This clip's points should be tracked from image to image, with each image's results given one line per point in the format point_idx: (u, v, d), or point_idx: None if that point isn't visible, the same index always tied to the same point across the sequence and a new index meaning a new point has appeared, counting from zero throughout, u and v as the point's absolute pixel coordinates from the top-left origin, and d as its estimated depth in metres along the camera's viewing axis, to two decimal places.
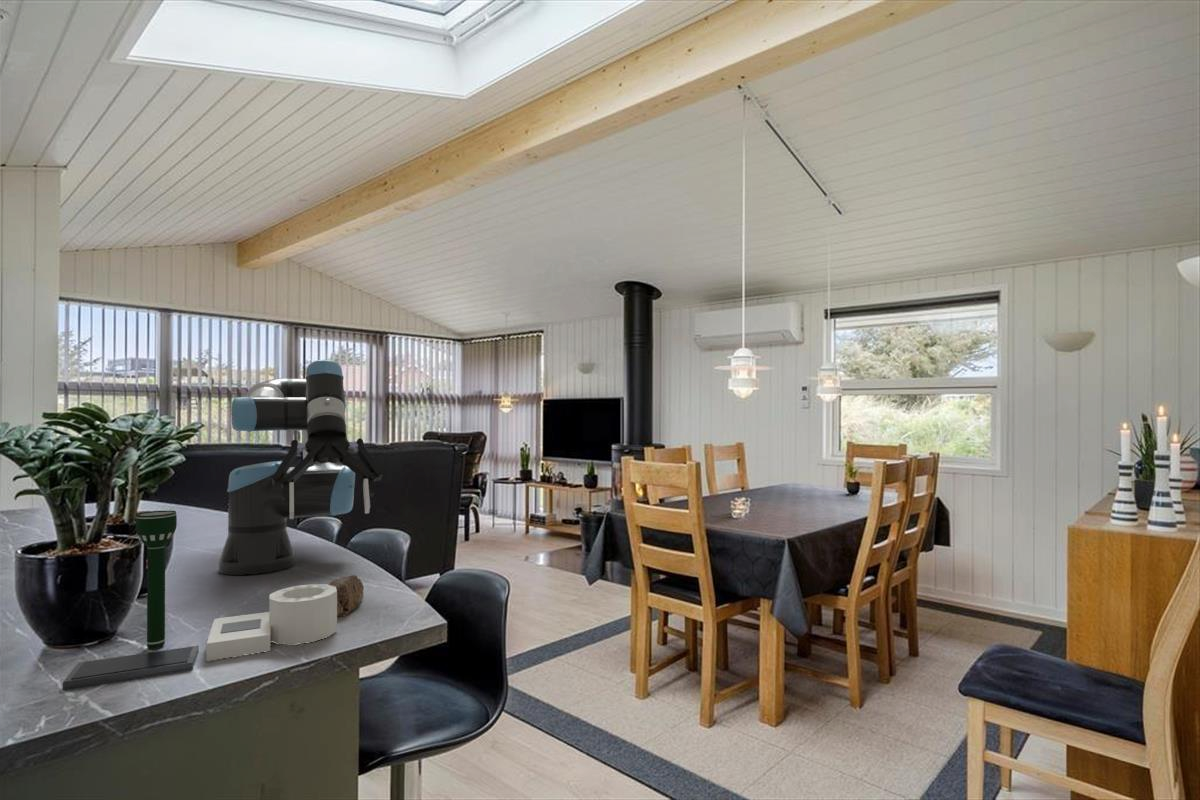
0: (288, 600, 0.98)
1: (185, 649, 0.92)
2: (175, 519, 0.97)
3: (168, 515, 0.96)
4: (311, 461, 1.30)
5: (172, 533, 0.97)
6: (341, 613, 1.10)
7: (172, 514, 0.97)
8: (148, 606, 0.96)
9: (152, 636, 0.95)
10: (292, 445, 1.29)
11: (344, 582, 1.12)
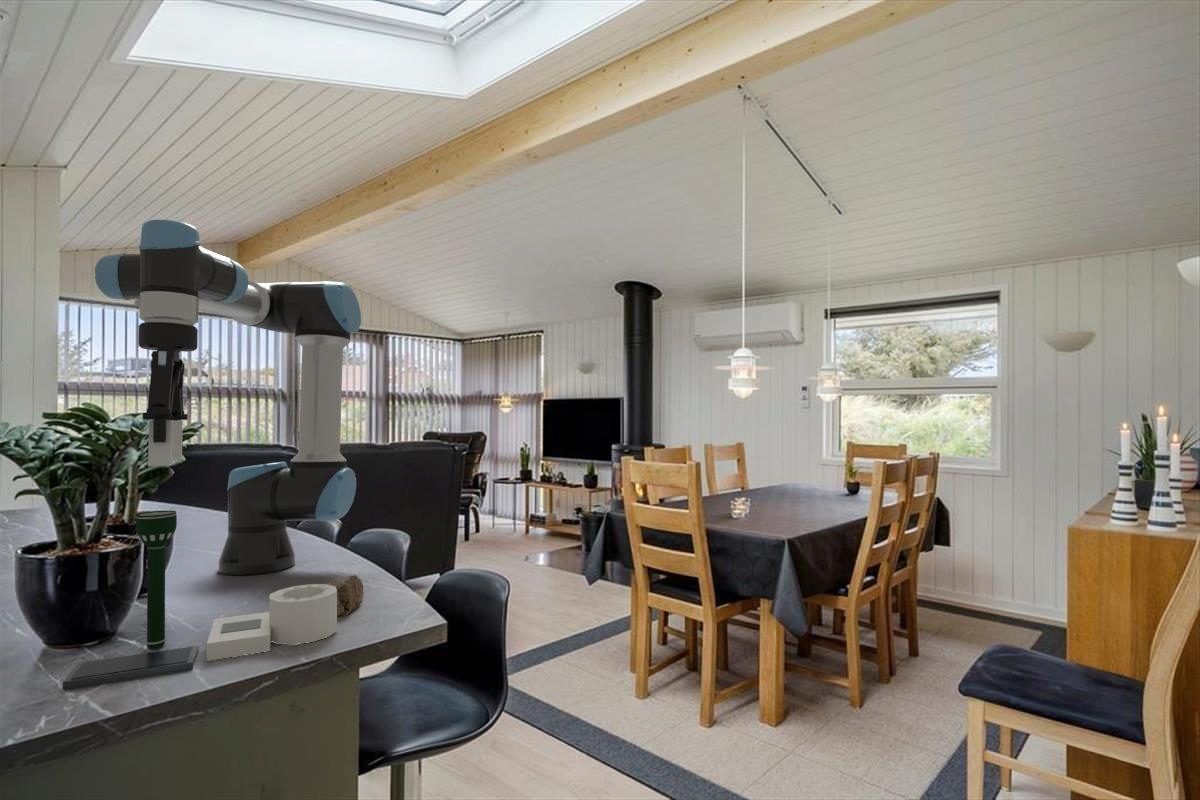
0: (288, 600, 0.98)
1: (185, 649, 0.92)
2: (175, 519, 0.97)
3: (168, 515, 0.96)
4: None
5: (172, 533, 0.97)
6: (342, 613, 1.10)
7: (172, 514, 0.97)
8: (148, 606, 0.96)
9: (152, 636, 0.95)
10: None
11: (345, 582, 1.12)
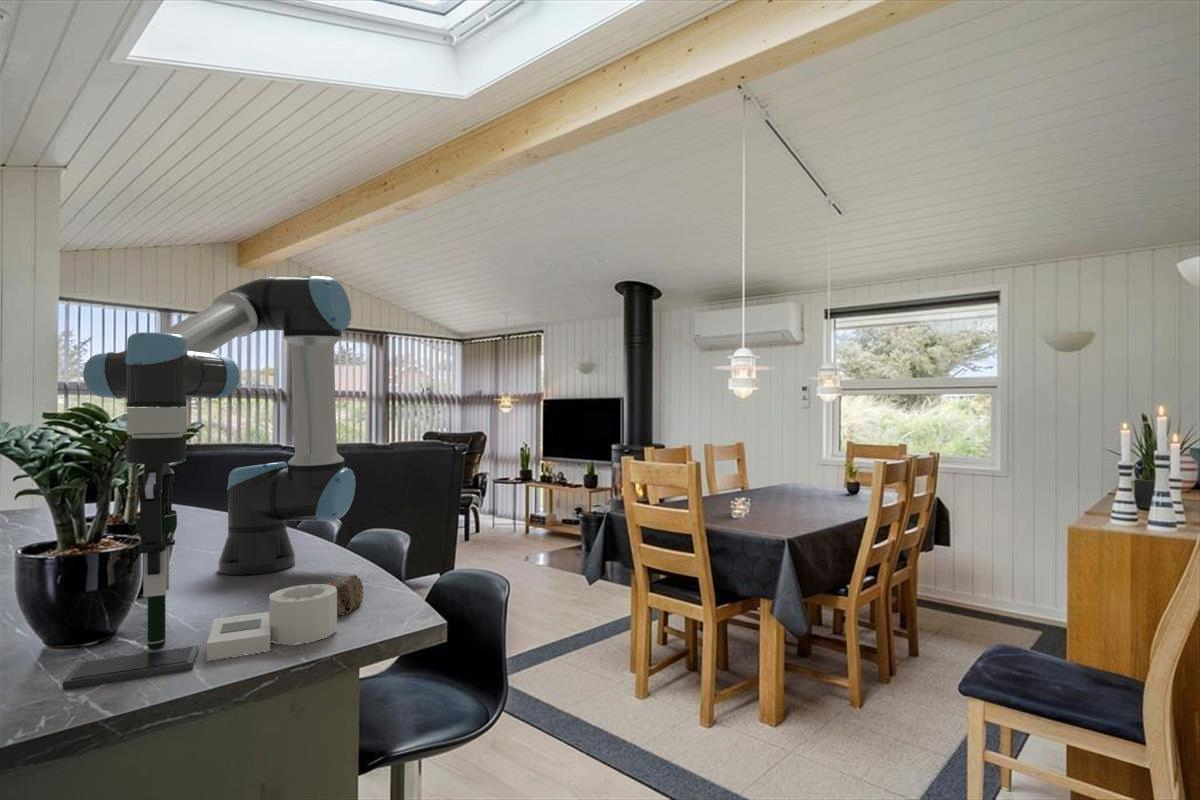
0: (288, 600, 0.98)
1: (185, 649, 0.92)
2: (175, 519, 0.97)
3: (168, 515, 0.96)
4: None
5: (172, 533, 0.97)
6: (343, 612, 1.11)
7: (172, 514, 0.97)
8: (148, 605, 0.96)
9: (153, 636, 0.95)
10: None
11: (345, 581, 1.12)
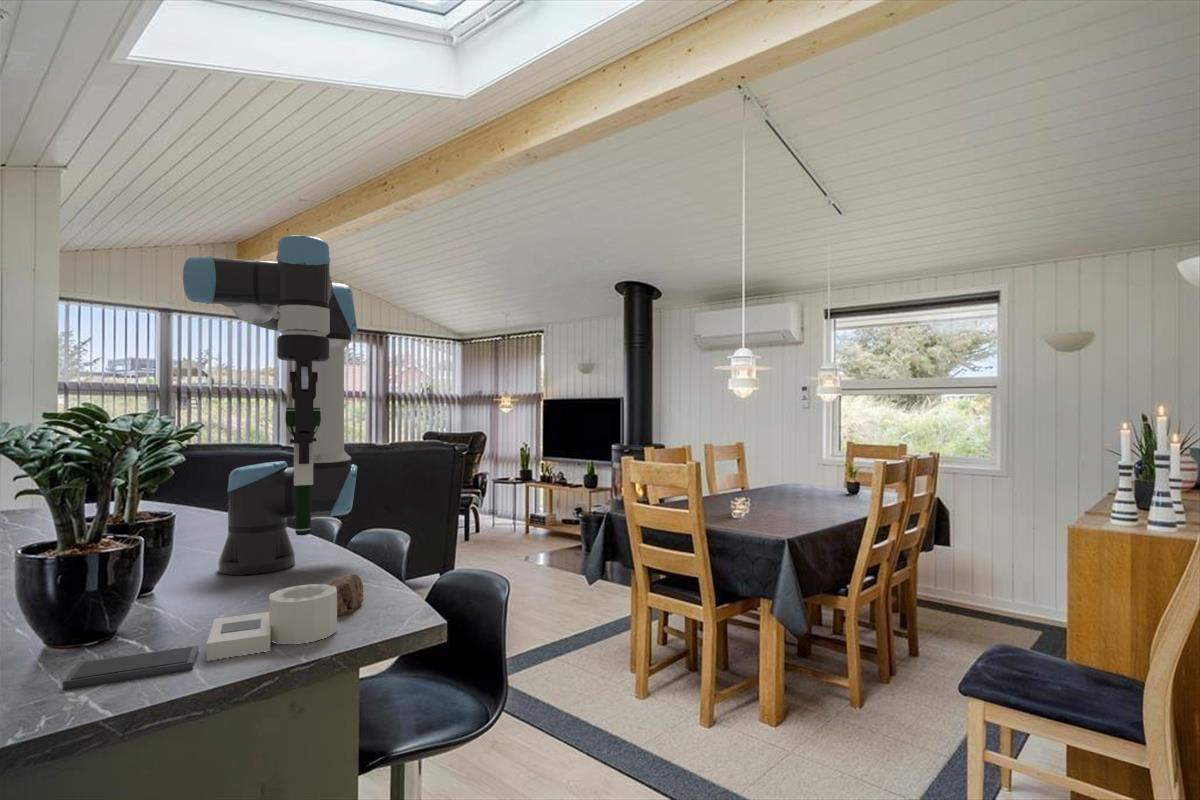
0: (288, 600, 0.98)
1: (185, 649, 0.92)
2: (320, 414, 1.03)
3: (315, 409, 1.01)
4: None
5: (318, 427, 1.02)
6: (345, 611, 1.11)
7: (318, 409, 1.02)
8: (297, 495, 1.01)
9: (301, 523, 1.01)
10: None
11: (347, 581, 1.12)
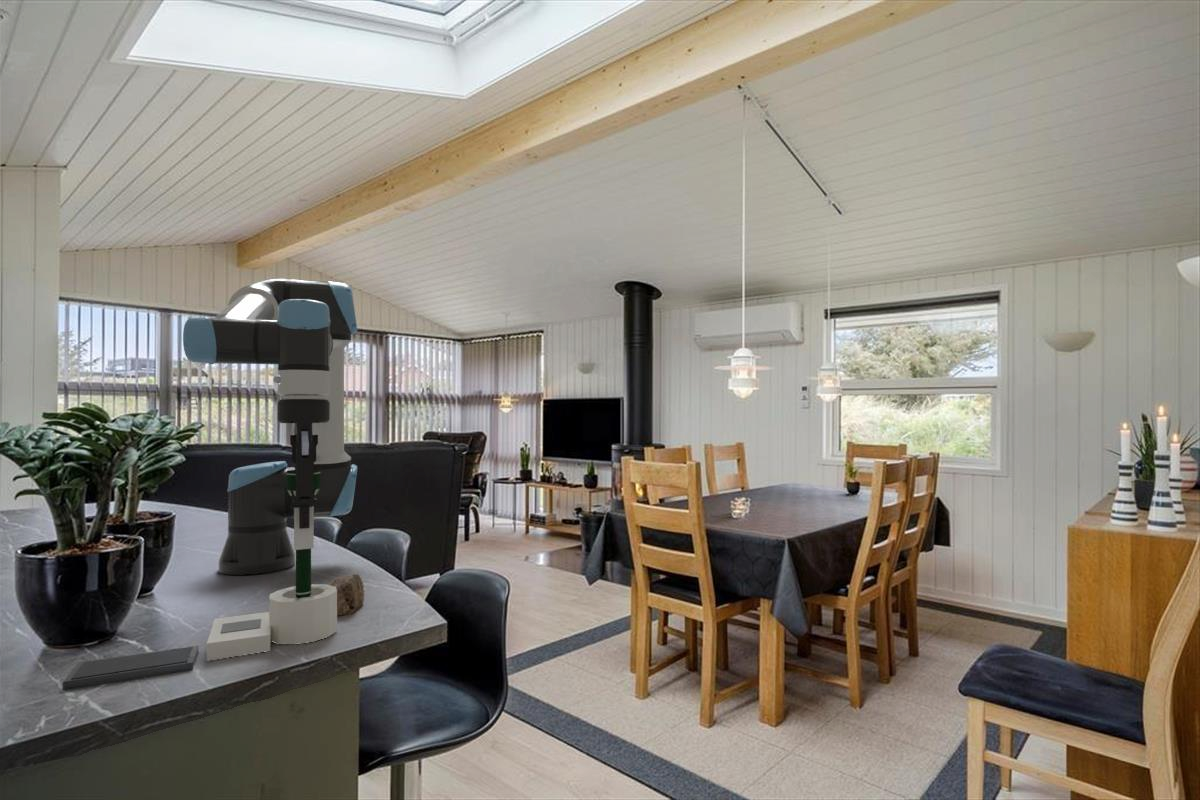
0: (288, 600, 0.98)
1: (185, 649, 0.92)
2: (320, 477, 1.03)
3: (316, 472, 1.01)
4: None
5: (318, 490, 1.02)
6: (347, 611, 1.11)
7: (318, 471, 1.02)
8: (297, 558, 1.01)
9: (301, 587, 1.01)
10: None
11: (349, 580, 1.13)
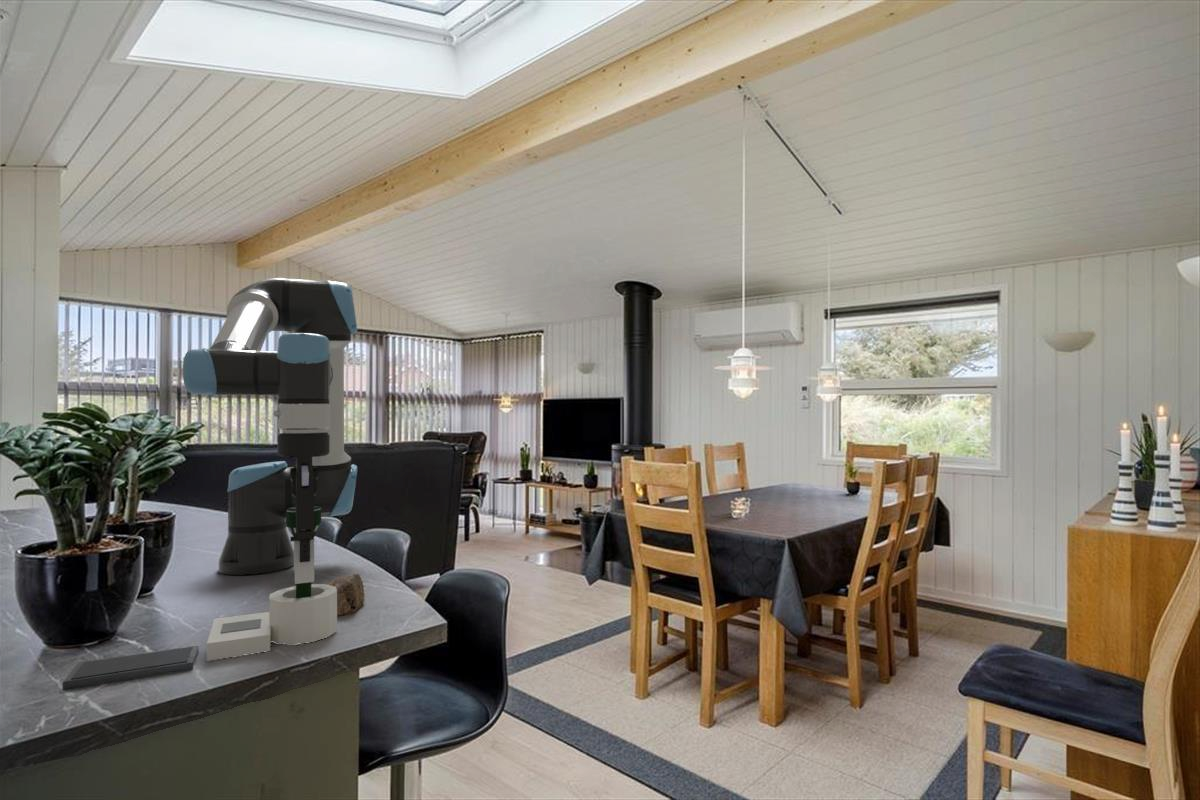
0: (288, 600, 0.98)
1: (185, 649, 0.92)
2: (320, 513, 1.03)
3: (316, 509, 1.01)
4: None
5: (318, 526, 1.02)
6: (349, 611, 1.11)
7: (319, 508, 1.02)
8: (297, 595, 1.01)
9: None
10: None
11: (351, 580, 1.13)
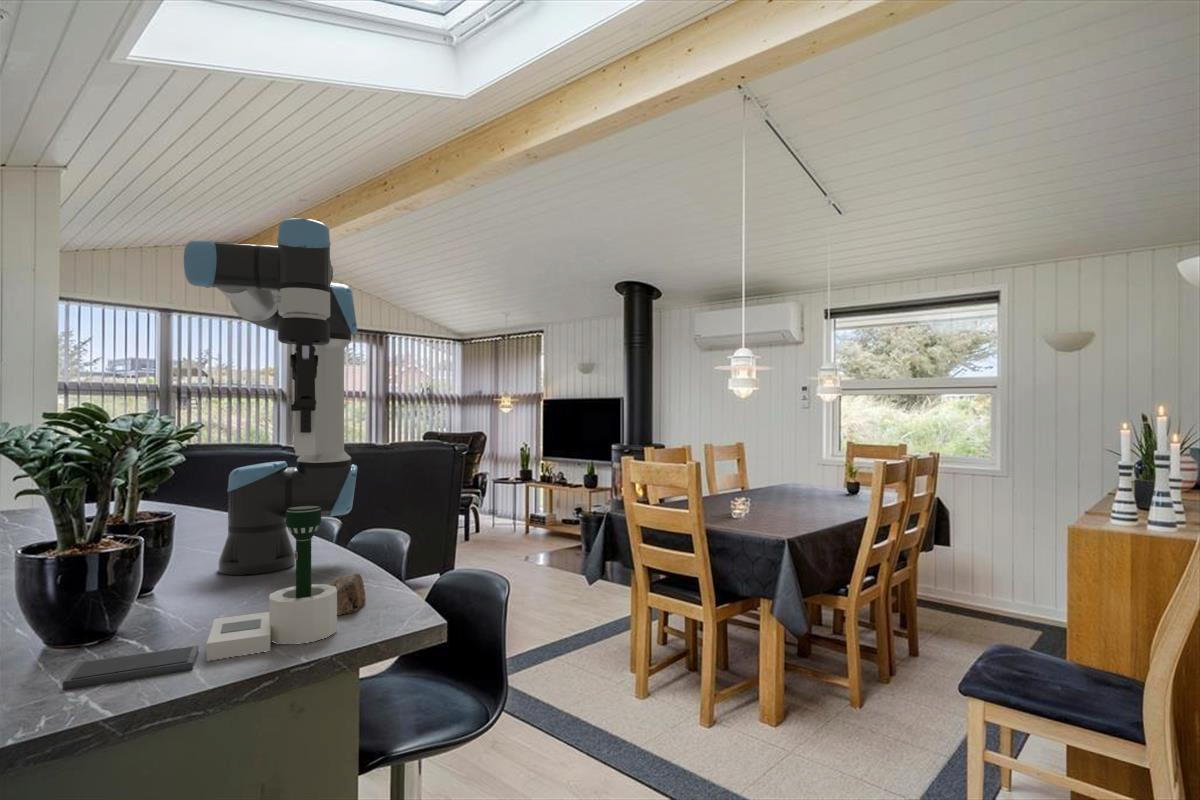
0: (288, 600, 0.98)
1: (185, 649, 0.92)
2: (320, 513, 1.03)
3: (316, 509, 1.01)
4: None
5: (318, 526, 1.02)
6: (351, 610, 1.12)
7: (319, 508, 1.02)
8: (297, 595, 1.01)
9: None
10: None
11: (352, 580, 1.13)
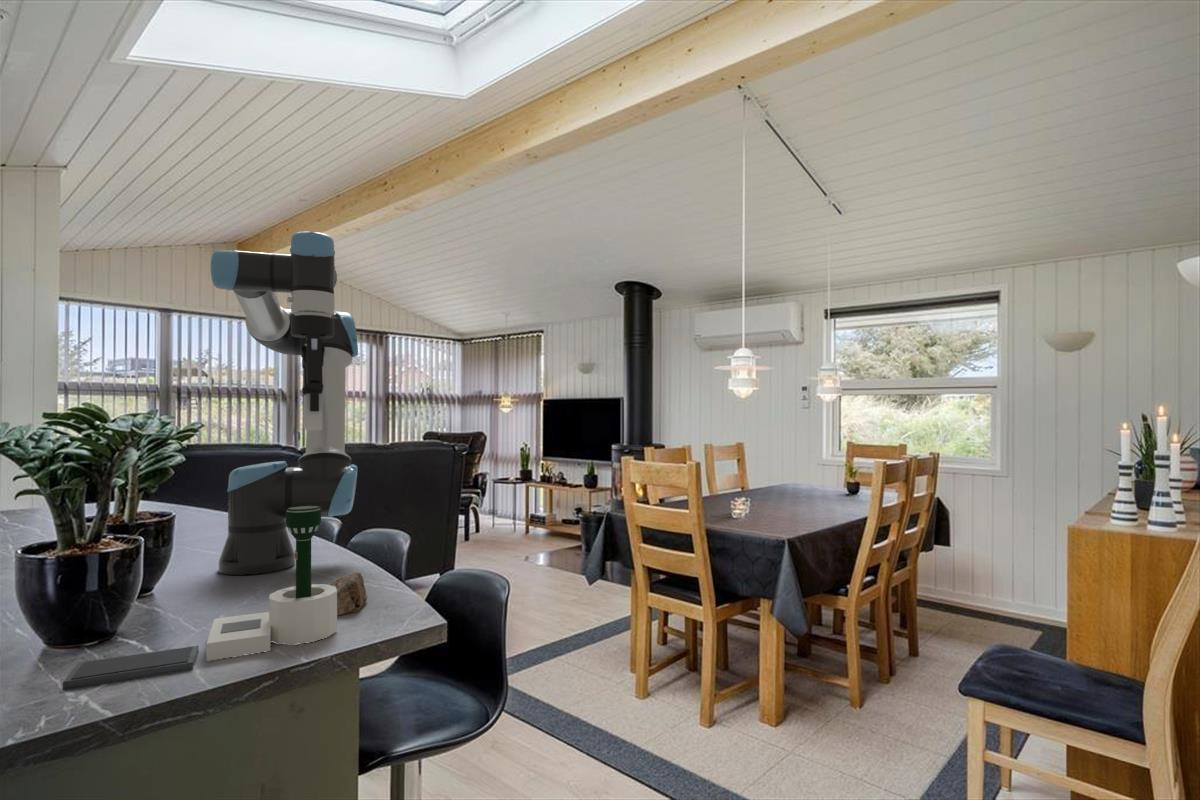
0: (288, 600, 0.98)
1: (185, 649, 0.92)
2: (320, 513, 1.03)
3: (316, 509, 1.01)
4: None
5: (318, 526, 1.02)
6: (353, 609, 1.12)
7: (318, 508, 1.02)
8: (297, 595, 1.01)
9: None
10: None
11: (355, 579, 1.14)
